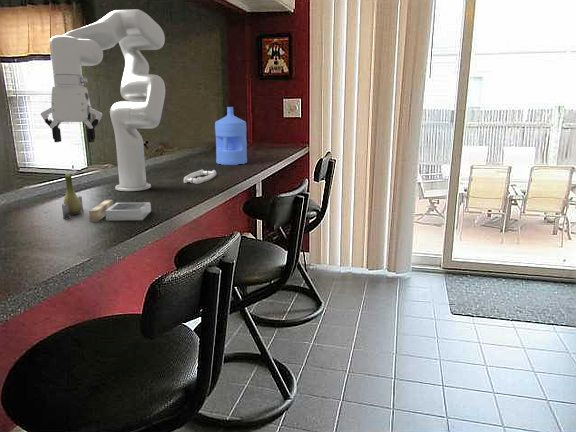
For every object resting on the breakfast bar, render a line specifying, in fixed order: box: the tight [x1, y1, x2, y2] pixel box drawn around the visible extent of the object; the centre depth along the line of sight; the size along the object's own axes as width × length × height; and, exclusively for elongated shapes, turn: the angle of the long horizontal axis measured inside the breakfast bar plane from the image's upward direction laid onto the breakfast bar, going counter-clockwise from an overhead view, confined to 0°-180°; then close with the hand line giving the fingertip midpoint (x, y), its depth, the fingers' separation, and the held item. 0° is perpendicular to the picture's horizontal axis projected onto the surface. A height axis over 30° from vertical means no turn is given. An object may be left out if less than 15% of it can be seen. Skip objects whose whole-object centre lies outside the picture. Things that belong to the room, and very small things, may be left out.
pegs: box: [61, 195, 84, 220], centre depth 136 cm, size 12×2×4 cm, turn 3°
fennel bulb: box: [63, 172, 83, 216], centre depth 135 cm, size 6×5×12 cm
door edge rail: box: [88, 199, 114, 223], centre depth 135 cm, size 14×2×3 cm, turn 3°
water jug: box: [214, 106, 248, 166], centre depth 233 cm, size 16×16×28 cm
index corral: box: [105, 201, 152, 222], centre depth 134 cm, size 10×10×3 cm
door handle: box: [183, 169, 217, 185], centre depth 194 cm, size 3×10×25 cm
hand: (74, 142), depth 138 cm, fingers open, 9 cm apart
